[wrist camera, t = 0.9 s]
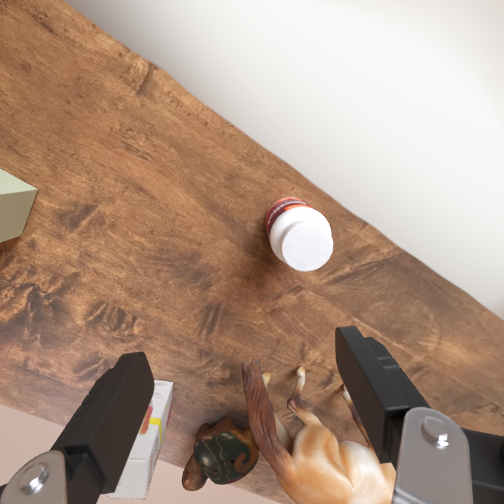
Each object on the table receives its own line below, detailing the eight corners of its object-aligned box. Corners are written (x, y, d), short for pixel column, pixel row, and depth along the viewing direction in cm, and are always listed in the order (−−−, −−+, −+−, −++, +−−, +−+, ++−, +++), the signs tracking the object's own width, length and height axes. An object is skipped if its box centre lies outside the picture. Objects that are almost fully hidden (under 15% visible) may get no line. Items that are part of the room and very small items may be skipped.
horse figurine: (404, 392, 43) (532, 577, 24) (378, 421, 46) (476, 610, 26) (244, 331, 38) (244, 505, 19) (224, 367, 40) (205, 555, 21)
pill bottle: (298, 186, 31) (325, 199, 21) (319, 227, 33) (353, 258, 22) (255, 212, 32) (260, 236, 22) (278, 251, 34) (293, 290, 23)
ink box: (170, 417, 44) (145, 503, 33) (142, 414, 44) (107, 500, 32) (174, 380, 41) (148, 461, 30) (144, 377, 41) (107, 458, 30)
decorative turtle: (176, 429, 45) (163, 479, 37) (248, 392, 44) (250, 436, 36) (205, 461, 48) (199, 515, 40) (274, 427, 46) (281, 476, 39)
